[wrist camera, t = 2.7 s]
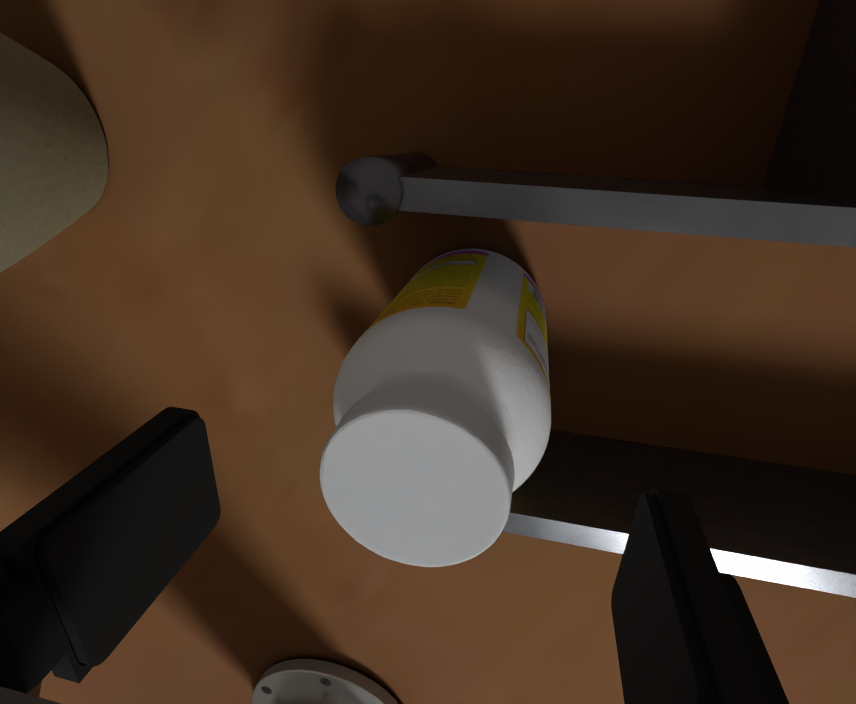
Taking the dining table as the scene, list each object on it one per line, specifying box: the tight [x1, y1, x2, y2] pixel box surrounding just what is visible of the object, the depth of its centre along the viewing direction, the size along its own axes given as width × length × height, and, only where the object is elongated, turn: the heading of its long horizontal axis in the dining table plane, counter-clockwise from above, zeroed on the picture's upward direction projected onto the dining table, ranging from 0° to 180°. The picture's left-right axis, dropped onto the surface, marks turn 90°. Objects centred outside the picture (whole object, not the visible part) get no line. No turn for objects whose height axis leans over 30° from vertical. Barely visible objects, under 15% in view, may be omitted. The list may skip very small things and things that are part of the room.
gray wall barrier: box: [336, 0, 856, 598], centre depth 17 cm, size 20×28×7 cm
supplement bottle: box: [320, 249, 551, 567], centre depth 17 cm, size 7×7×13 cm
